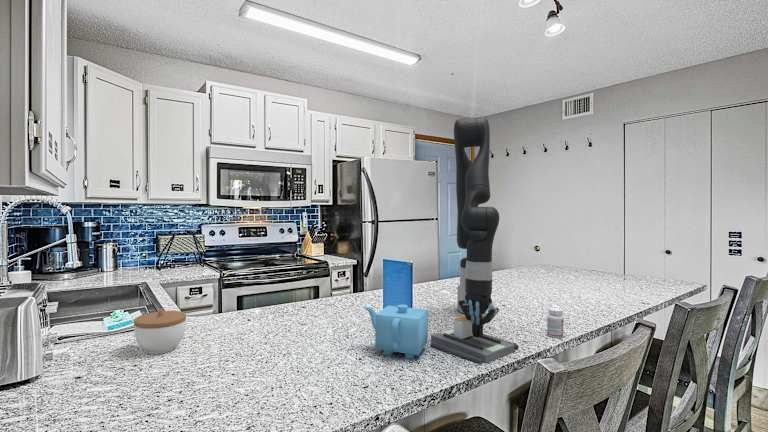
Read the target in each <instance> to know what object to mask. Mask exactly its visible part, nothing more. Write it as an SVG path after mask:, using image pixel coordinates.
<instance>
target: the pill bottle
mask: <svg viewBox="0 0 768 432" xmlns="http://www.w3.org/2000/svg"><path fill="white" fill-rule="evenodd" d="M563 313H564V312H563V309H562V308H557V307H550V308H548V314H547V315H546V316H547V317H546V318H547V320H546V321H547V323H546V335H547V336H549V337H551V338H556V339H561V338H563V337H564V323H565V322H564V320H565V318H564V316H563Z"/></svg>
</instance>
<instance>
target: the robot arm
mask: <svg viewBox="0 0 768 432" xmlns="http://www.w3.org/2000/svg"><path fill="white" fill-rule="evenodd" d="M490 135H491V134H490V123H489V120H488V118H486V117H485V116H484V117H483V116H479V117H478V116H477V117H464V118H463V117H462V118H458V119H456V120H455V121H454V125H453V141H454V151H455V165H456V172H455V173H456V175H455V176H456V177H455V178H456V179H455V180H456V183H455V185H456V187H455V188H456V190H455V191H456V206H457V217H456V218H457V221H456V224H457V225H456V226H457V227H456V243H457V246H458V248H459V249H462V250H466V257H464V258H461V259H460V260H459V261H460V262H459V263H460V265H459V285H458V286H457V294H456V295H457V296H456V298H457V300H456V302H457V305H456V310H457V311H459V313H461V314H463V316H465V317H466V319H467V320H470V321H471V323H472V334H473V336H474V337H477V338H479V337H481V336H482V335H483V334H484V325H486V324H489V323H490V322H492V320H493V319H494V318H495V316H496V315H497V314H498V313H499V312H500V310H499V308H498V307H495V306H494V304H493V299H492V293H493V264H492V263H493V262H492V261H493V257H492V256H493V244H494V240H495V235H496V232H497V230H498V227H499V223H500V213H499V211H498V209H497V208H496V207H494V206H479V205H483V204H485V203H488V202H489V200H490V199H491V188H490V187H491V185H490V175H489V166H490V146H491V145H490V142H491V141H490V137H491V136H490ZM476 147H479V149H478V153H477V155H476V156H475V158H474V160H473V161H472V162H471V160H470V159H469V157H468V155H467V152H466V148H476Z"/></svg>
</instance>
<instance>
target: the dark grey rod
mask: <svg viewBox="0 0 768 432" xmlns="http://www.w3.org/2000/svg"><path fill="white" fill-rule="evenodd" d="M483 335H486V336H489V337H492V338H496V339H499V340H502V341H505V342H508V343H511V344H514V345H515V349H516V350H518V349H519V347H520V346H519V345H518V344H516V343H514V342H510V341H507V340H504V339H500V338H497V337H495V336H492V335H488V334H485V333H483Z"/></svg>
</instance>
